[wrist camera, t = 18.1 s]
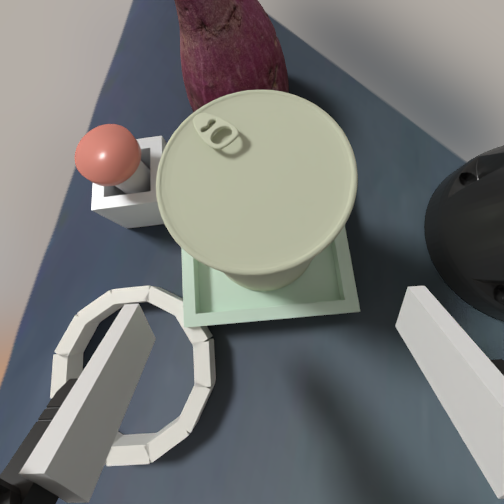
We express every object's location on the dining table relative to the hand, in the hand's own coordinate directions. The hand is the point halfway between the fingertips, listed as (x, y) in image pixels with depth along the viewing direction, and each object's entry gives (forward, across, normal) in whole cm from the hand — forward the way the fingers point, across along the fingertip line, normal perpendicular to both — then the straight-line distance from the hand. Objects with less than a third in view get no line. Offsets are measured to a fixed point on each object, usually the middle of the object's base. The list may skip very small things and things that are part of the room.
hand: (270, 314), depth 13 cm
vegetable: (+23, +2, -9) cm, 24 cm away
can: (+11, 0, +2) cm, 11 cm away
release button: (+14, +11, -3) cm, 18 cm away
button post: (+15, +11, -2) cm, 19 cm away
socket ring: (+4, +12, +10) cm, 16 cm away
